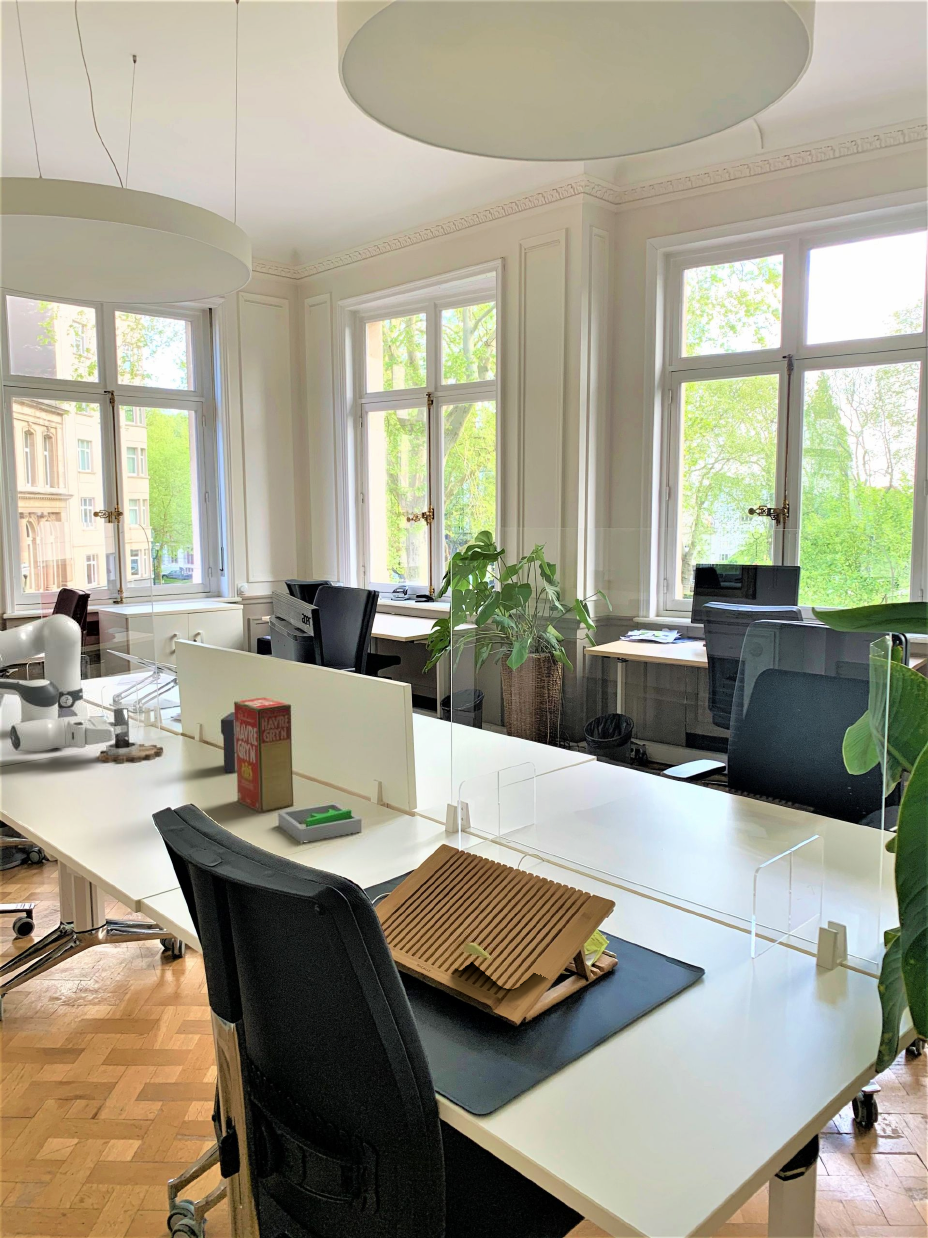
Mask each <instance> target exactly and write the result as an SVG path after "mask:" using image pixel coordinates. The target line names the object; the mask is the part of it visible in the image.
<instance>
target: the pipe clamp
mask: <svg viewBox="0 0 928 1238" xmlns="http://www.w3.org/2000/svg"><path fill="white" fill-rule="evenodd" d="M346 809H347V808H346ZM351 812H352V809H350V808H348V809H347V810H343V811H338V812H337V811H334V810H332V809H329V810H328V813H325V814H314V813H313V814H311V818H310V819H306V820H305V821H306V822H305V827H309V826H314V825H320V824H326V823H331V822H337V821H343V820H348V819H351Z"/></svg>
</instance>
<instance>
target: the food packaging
mask: <svg viewBox="0 0 928 1238" xmlns="http://www.w3.org/2000/svg"><path fill="white" fill-rule="evenodd" d="M233 705H234V708H233V710H234V711H233V712H235V735H236V761H237V771H236V786H237V788H236V789H237V790H236V791H237V799H236V801H237V802H238V803H241V804H242V805H244V806H247V807H249V808H251V809H253V810H254V811H257V812H259V813H266V812H272V811H276V810H280V809H285V808H291V807H293V806H294V782H293V748H292V747H293V743H292V705H291V704H290V703H287V702H286V703H285V702H282V701H278V700H274V699H271V698H267V697H256V698H250V699H242V700H237V701H234V702H233Z"/></svg>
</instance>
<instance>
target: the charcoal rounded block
mask: <svg viewBox="0 0 928 1238" xmlns="http://www.w3.org/2000/svg"><path fill="white" fill-rule="evenodd" d="M220 734H221V735H222V736H223V737H222V738H223V739H222V740H223V772H224V773H227V774H234V773H237V761H236V735H235V711H232V712H230V713H228V714H227V715H225V716H224V717H222V718H221V719H220Z"/></svg>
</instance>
